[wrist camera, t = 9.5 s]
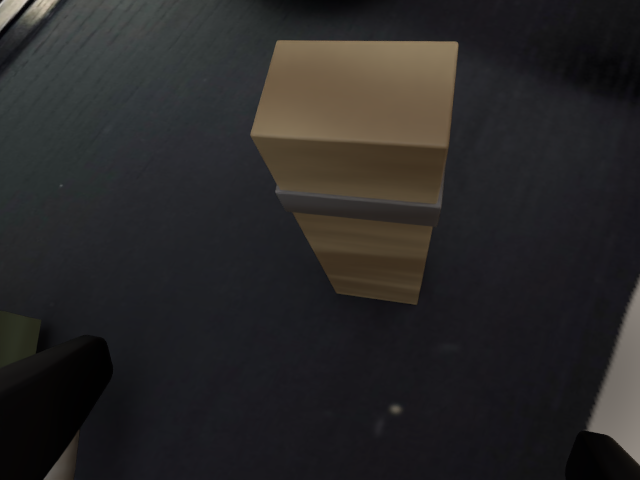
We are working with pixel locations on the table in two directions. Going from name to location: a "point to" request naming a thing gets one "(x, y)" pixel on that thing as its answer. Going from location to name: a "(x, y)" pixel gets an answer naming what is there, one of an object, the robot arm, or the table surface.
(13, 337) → the drawer
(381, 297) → the block
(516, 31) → the table surface
